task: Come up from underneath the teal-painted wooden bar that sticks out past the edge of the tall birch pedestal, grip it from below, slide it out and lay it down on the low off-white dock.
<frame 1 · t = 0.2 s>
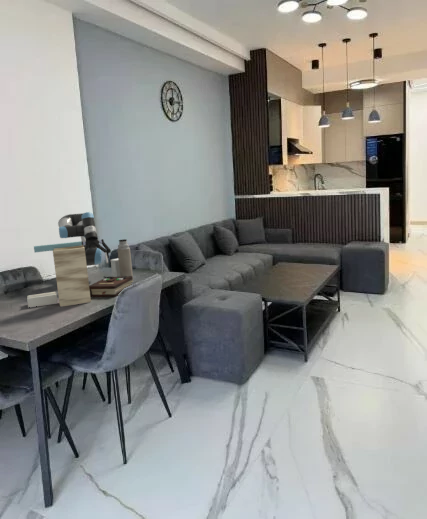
hand: (96, 264, 270), 15 cm above the table, tool tilted 35°, fingers open, 13 cm apart
dock: (43, 303, 243), on the table
pedestal: (75, 302, 242), on the table
bar: (58, 249, 235), point 30 cm above the table, touching pedestal
decorative book: (112, 292, 262), on the table
thermos bottle: (127, 282, 285), on the table
skincare box: (120, 280, 293), on the table
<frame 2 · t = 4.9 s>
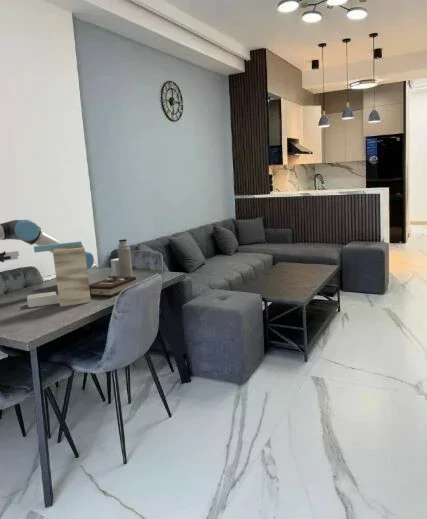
hand: (18, 254, 237), 28 cm above the table, tool horizontal, fingers open, 13 cm apart
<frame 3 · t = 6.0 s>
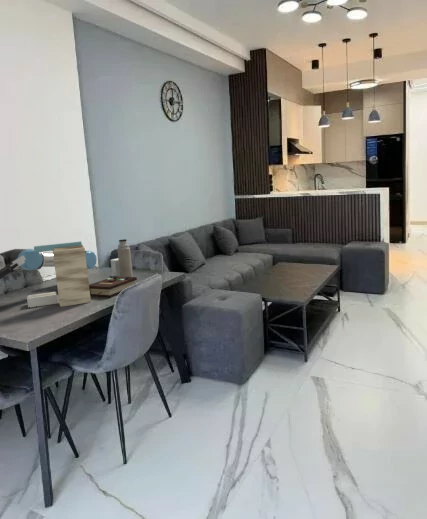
hand: (24, 258, 230), 27 cm above the table, tool pointing upward, fingers open, 13 cm apart
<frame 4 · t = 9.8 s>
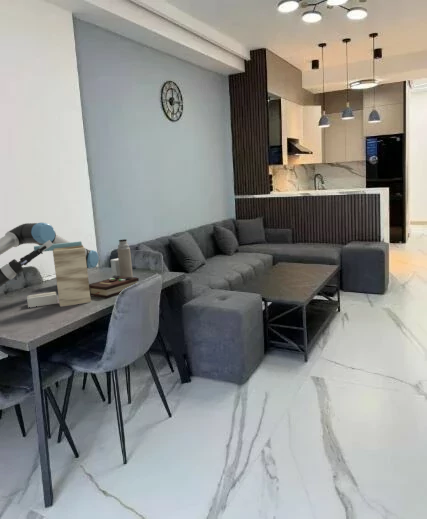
hand: (51, 242, 233), 34 cm above the table, tool pointing upward, fingers closed on bar, 3 cm apart
bar: (58, 249, 235), point 30 cm above the table, touching gripper, pedestal
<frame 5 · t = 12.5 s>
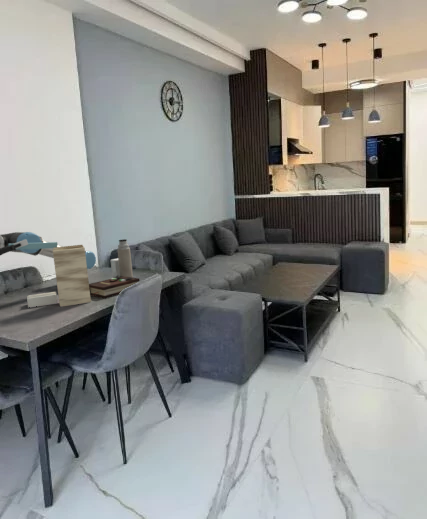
hand: (27, 241, 233), 35 cm above the table, tool pointing upward, fingers closed on bar, 3 cm apart
bar: (33, 248, 235), point 31 cm above the table, touching gripper
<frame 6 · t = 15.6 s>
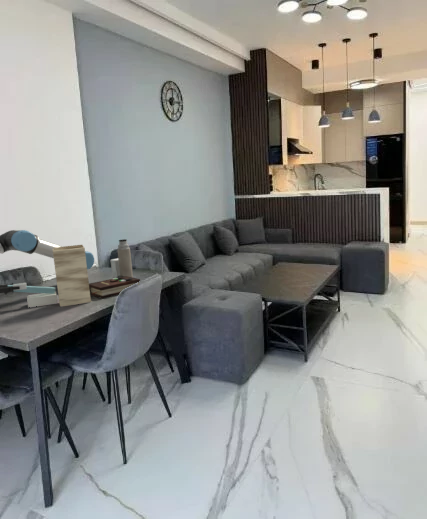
hand: (26, 285, 239), 11 cm above the table, tool horizontal, fingers closed on bar, 3 cm apart
bar: (31, 292, 240), point 8 cm above the table, tilted 12°, touching gripper
when the fingers open (7 cm above the table, at t = 16.6 s): bar stays where it is, resting on dock.
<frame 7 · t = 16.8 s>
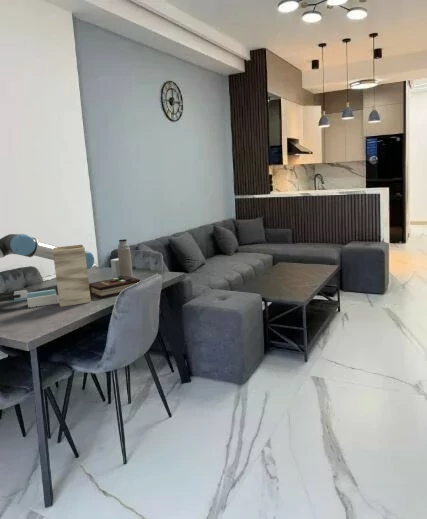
hand: (27, 293, 240), 7 cm above the table, tool horizontal, fingers open, 5 cm apart
bar: (32, 298, 241), point 4 cm above the table, touching dock
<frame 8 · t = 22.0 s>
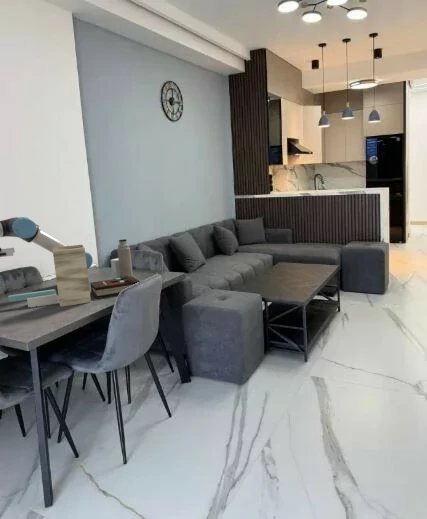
hand: (13, 251, 240), 30 cm above the table, tool horizontal, fingers open, 13 cm apart
at the end: bar inside the target area (3.7 cm from its centre), point 4.0 cm above the table; bar touching dock; the gripper is holding nothing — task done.
